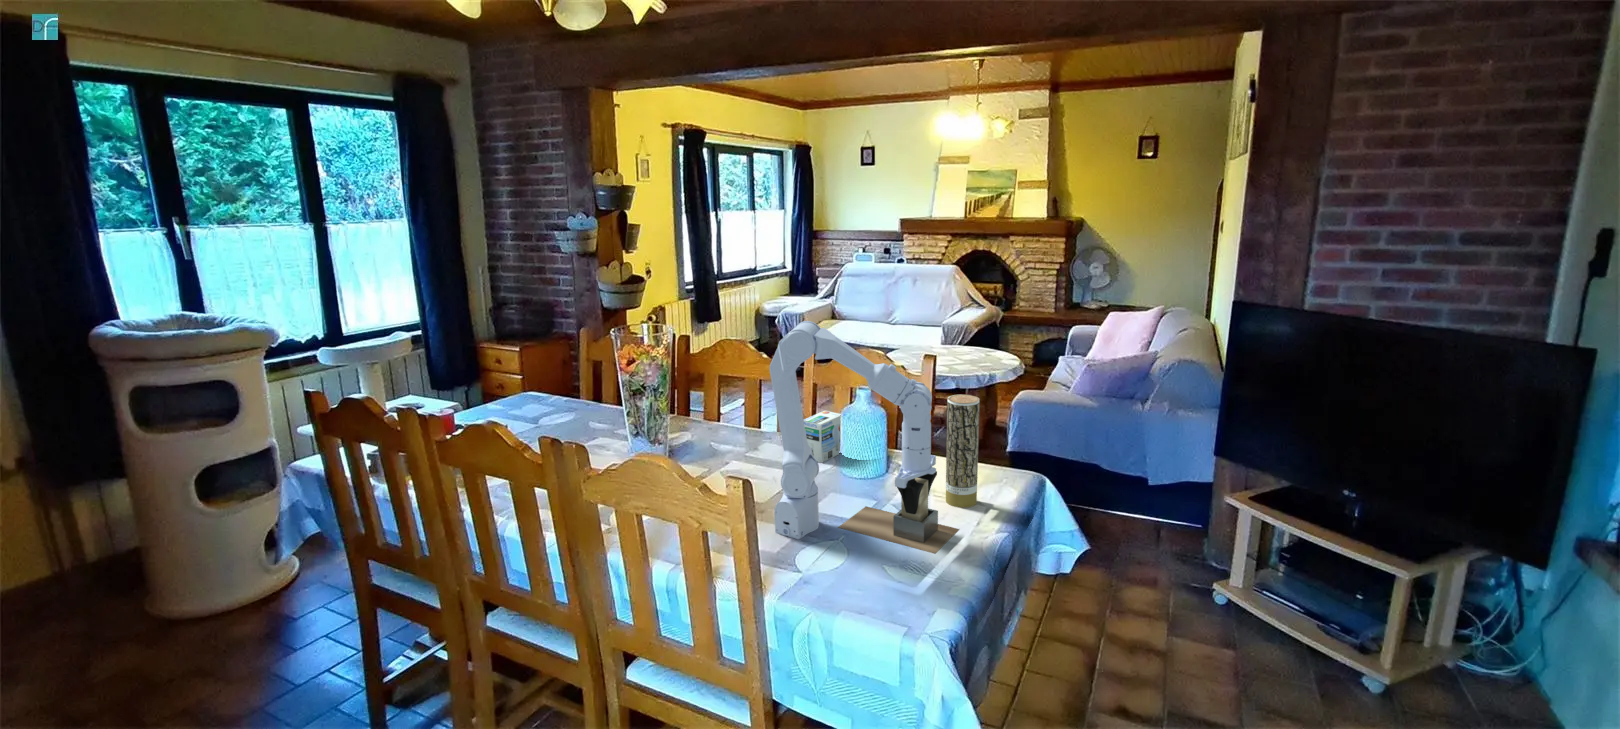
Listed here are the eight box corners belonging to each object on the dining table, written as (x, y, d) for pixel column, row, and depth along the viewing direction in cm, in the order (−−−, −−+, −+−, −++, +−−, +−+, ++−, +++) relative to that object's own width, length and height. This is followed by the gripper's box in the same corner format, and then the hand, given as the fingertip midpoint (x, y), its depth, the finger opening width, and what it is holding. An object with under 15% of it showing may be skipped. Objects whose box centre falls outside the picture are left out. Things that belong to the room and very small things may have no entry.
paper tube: (976, 513, 162) (979, 403, 156) (945, 511, 164) (947, 402, 158) (976, 500, 169) (979, 394, 163) (945, 498, 170) (947, 394, 164)
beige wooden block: (919, 524, 149) (919, 486, 147) (901, 519, 151) (901, 482, 149) (928, 516, 152) (928, 479, 150) (910, 512, 154) (910, 476, 152)
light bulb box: (822, 463, 194) (821, 424, 191) (801, 458, 198) (800, 420, 195) (845, 451, 202) (844, 413, 199) (825, 446, 206) (824, 409, 203)
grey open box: (923, 543, 147) (923, 523, 146) (893, 535, 151) (893, 515, 150) (937, 530, 153) (938, 510, 152) (908, 522, 156) (908, 503, 155)
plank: (935, 559, 143) (935, 553, 143) (837, 532, 155) (837, 527, 155) (959, 534, 153) (959, 529, 153) (866, 511, 165) (865, 506, 165)
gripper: (918, 460, 139) (918, 527, 143) (949, 437, 151) (948, 499, 154) (885, 453, 143) (885, 518, 146) (918, 432, 155) (917, 492, 158)
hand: (915, 508), depth 151 cm, fingers closed on beige wooden block, 4 cm apart
